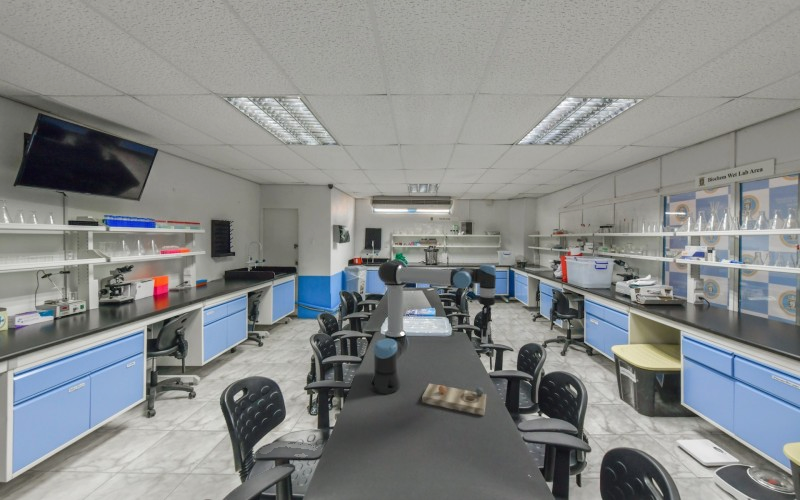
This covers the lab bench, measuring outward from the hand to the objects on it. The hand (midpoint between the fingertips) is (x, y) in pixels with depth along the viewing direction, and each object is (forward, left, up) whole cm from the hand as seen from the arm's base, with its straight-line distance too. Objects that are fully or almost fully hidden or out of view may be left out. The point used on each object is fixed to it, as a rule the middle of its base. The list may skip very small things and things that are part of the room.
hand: (485, 338), depth 148 cm
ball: (-19, -14, -23) cm, 32 cm away
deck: (-13, -14, -27) cm, 33 cm away
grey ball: (-2, -10, -23) cm, 25 cm away
